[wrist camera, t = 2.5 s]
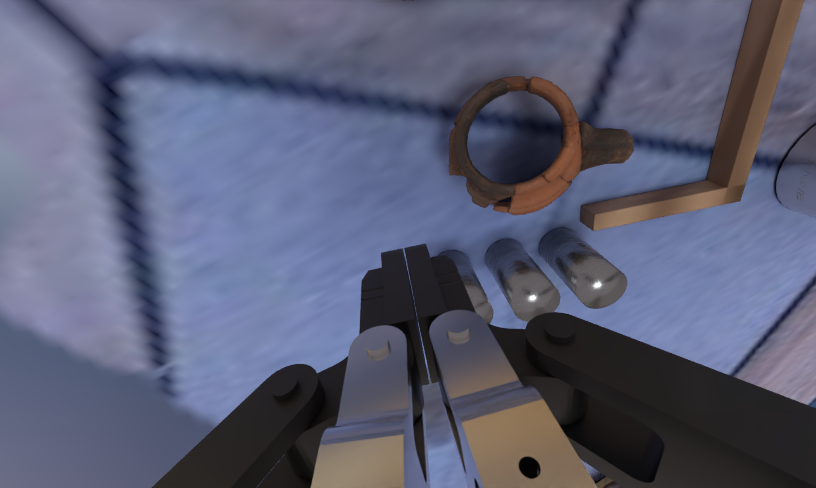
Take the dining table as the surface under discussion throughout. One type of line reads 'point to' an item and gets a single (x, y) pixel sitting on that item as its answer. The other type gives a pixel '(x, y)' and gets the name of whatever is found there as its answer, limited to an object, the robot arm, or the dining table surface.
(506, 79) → the pottery mug
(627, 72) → the dining table surface
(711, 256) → the dining table surface
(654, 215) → the walnut frame
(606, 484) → the ceramic jug
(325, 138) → the dining table surface
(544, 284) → the metal posts
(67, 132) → the dining table surface
